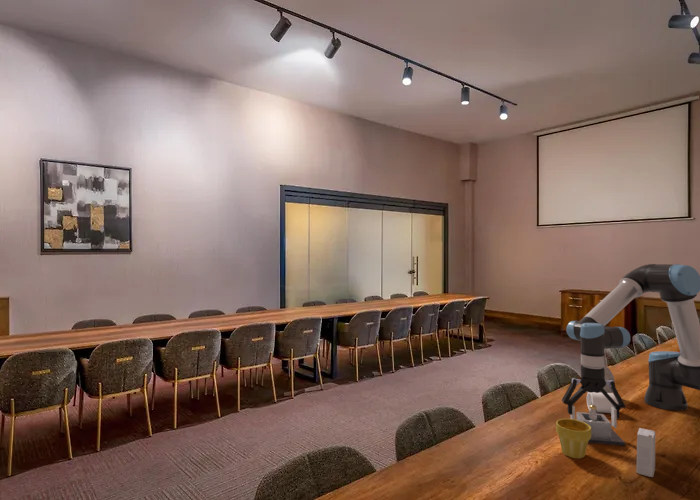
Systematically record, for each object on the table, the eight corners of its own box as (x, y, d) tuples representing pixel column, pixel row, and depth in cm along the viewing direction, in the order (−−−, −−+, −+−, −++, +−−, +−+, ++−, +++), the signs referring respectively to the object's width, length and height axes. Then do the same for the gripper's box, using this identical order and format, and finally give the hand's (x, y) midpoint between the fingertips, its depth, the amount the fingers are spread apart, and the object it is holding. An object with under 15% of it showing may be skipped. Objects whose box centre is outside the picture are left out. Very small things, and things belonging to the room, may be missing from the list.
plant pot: (590, 464, 132) (590, 433, 132) (554, 456, 137) (554, 426, 137) (592, 451, 140) (591, 422, 141) (557, 444, 146) (557, 416, 146)
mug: (620, 416, 171) (619, 397, 171) (593, 414, 173) (593, 395, 173) (608, 406, 182) (607, 387, 182) (583, 404, 184) (583, 386, 184)
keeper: (611, 431, 156) (611, 400, 156) (625, 445, 144) (624, 412, 144) (564, 427, 160) (564, 397, 160) (574, 441, 148) (573, 409, 148)
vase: (584, 399, 190) (584, 362, 191) (580, 391, 202) (580, 356, 203) (617, 403, 186) (617, 365, 186) (611, 394, 198) (611, 358, 198)
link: (603, 428, 156) (603, 414, 156) (611, 439, 147) (611, 423, 147) (576, 426, 158) (576, 411, 158) (582, 436, 149) (582, 420, 149)
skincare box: (638, 465, 131) (637, 426, 131) (656, 470, 128) (655, 430, 128) (636, 473, 126) (635, 433, 126) (654, 478, 123) (653, 437, 123)
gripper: (626, 365, 153) (627, 423, 153) (552, 361, 159) (553, 418, 158) (635, 370, 146) (636, 432, 146) (558, 367, 151) (558, 425, 151)
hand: (593, 424), depth 152 cm, fingers open, 13 cm apart
